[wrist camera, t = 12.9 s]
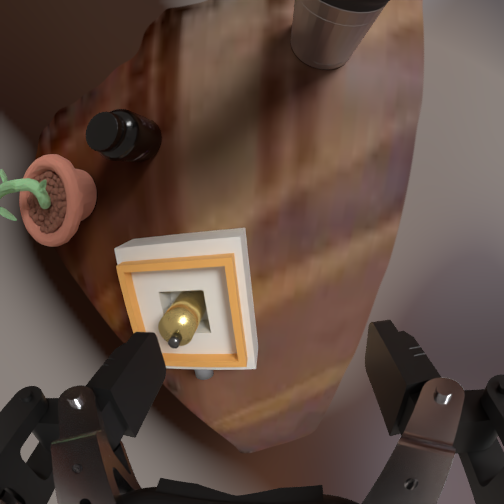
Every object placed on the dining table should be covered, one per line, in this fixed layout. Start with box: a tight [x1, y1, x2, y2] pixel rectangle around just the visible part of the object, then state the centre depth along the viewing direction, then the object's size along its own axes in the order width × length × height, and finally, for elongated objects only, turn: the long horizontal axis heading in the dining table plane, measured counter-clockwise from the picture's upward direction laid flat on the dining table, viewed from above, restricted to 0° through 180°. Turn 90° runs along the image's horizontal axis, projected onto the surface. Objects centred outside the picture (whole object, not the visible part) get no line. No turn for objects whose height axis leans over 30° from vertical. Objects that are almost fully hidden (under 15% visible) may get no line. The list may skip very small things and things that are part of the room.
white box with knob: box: [114, 228, 258, 380], centre depth 41 cm, size 23×18×8 cm
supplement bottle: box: [86, 109, 162, 162], centre depth 33 cm, size 7×7×12 cm
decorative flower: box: [0, 154, 97, 247], centre depth 27 cm, size 15×14×30 cm
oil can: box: [158, 290, 207, 348], centre depth 38 cm, size 5×5×10 cm
